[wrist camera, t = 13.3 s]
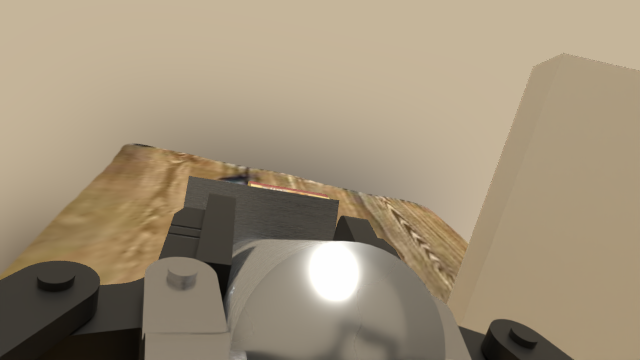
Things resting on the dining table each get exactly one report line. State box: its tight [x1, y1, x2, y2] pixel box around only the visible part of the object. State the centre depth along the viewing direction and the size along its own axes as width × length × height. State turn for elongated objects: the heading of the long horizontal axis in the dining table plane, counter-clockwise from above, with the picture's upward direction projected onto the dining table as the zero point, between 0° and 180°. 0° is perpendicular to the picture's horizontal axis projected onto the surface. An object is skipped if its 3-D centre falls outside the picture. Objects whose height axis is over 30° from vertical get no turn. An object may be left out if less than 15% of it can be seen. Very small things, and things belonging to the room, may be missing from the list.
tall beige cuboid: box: [447, 53, 640, 360], centre depth 28 cm, size 14×10×32 cm
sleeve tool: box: [184, 176, 446, 360], centre depth 15 cm, size 6×19×5 cm, turn 10°
